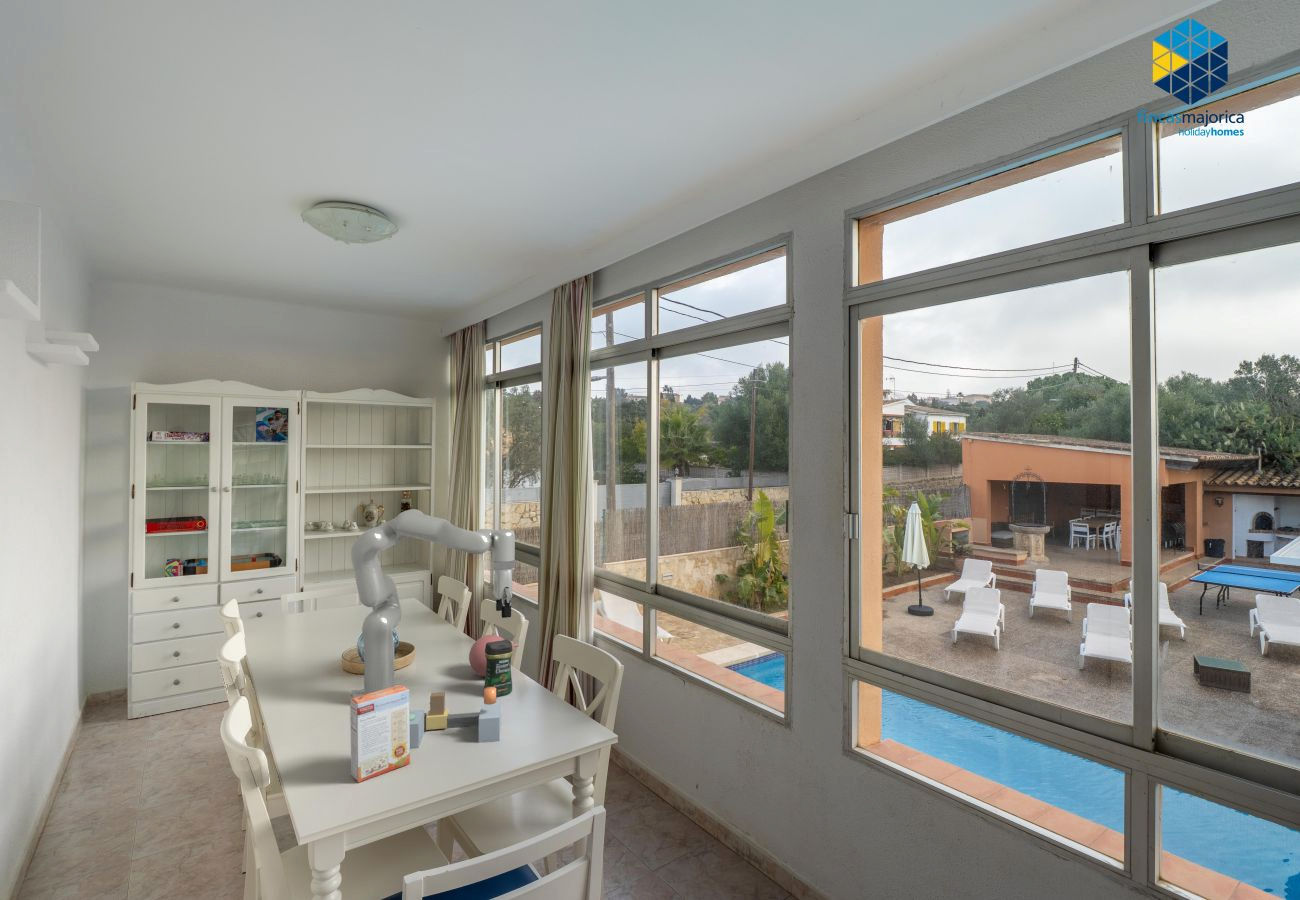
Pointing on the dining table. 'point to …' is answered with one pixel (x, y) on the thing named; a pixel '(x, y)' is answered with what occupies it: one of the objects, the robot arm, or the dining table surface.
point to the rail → (460, 720)
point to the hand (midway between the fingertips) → (503, 613)
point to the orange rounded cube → (489, 695)
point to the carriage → (437, 712)
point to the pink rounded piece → (483, 653)
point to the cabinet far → (490, 723)
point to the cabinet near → (416, 727)
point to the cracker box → (379, 732)
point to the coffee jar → (499, 666)
